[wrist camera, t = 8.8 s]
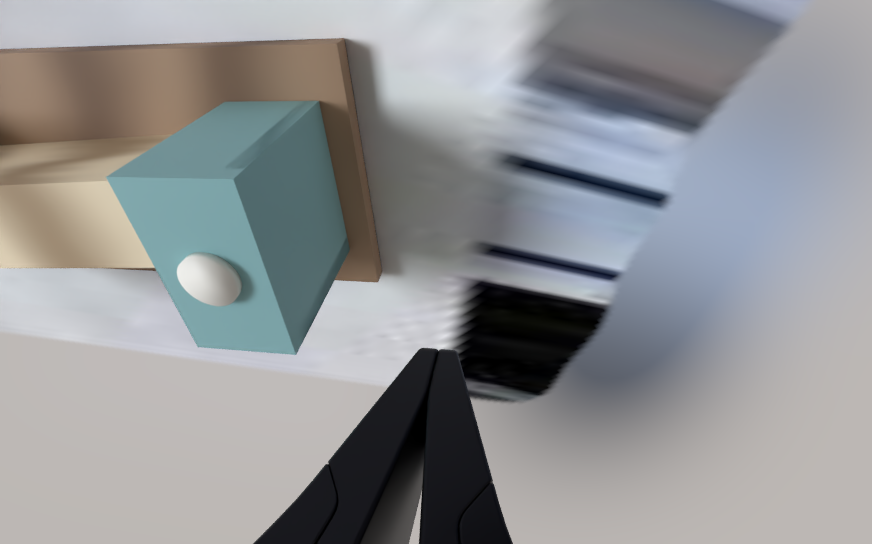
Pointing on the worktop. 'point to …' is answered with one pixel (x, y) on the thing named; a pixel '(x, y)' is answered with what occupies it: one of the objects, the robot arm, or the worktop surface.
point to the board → (191, 104)
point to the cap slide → (241, 222)
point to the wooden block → (68, 205)
